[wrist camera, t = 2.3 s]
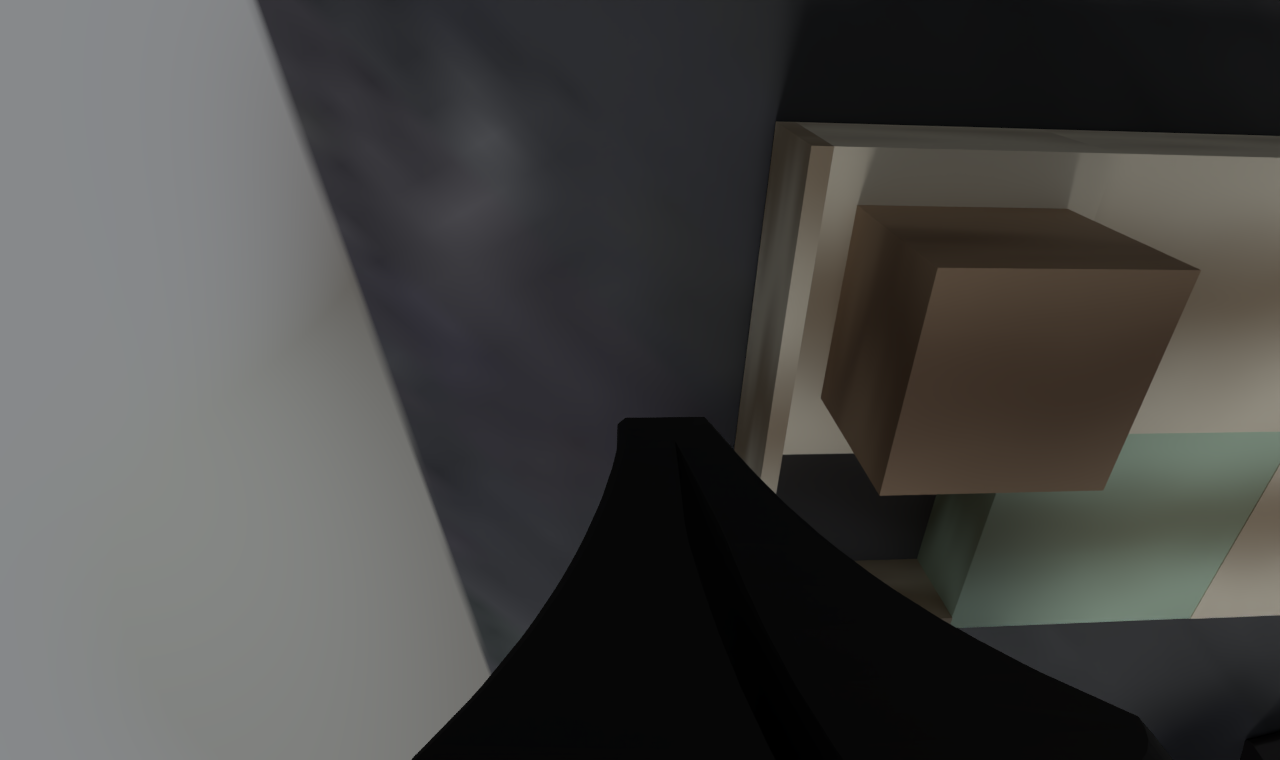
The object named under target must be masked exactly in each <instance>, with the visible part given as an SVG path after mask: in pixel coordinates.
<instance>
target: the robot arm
mask: <svg viewBox="0 0 1280 760" xmlns="http://www.w3.org/2000/svg"><path fill="white" fill-rule="evenodd" d="M412 760H1173V759H1172V758H1171V757H1170V756H1169V754H1168V753H1167V752H1166V750H1165V749H1164V748H1163V747H1162V745H1161V744H1160V743H1159V742H1158V740H1157V739H1156V738H1155V736H1154V735H1153V734H1152V733H1151V731H1150V730H1149V729H1148V728H1147V727H1146V726H1145V724H1144V723H1143V722H1142V721H1141V720H1140V718H1139V717H1138V716H1136V715H1133V714H1131V713H1129V712H1127V711H1125V710H1122V709H1120V708H1118V707H1116V706H1114V705H1111V704H1109V703H1107V702H1105V701H1103V700H1100V699H1098V698H1096V697H1094V696H1092V695H1089V694H1087V693H1085V692H1083V691H1081V690H1078V689H1076V688H1074V687H1072V686H1069V685H1067V684H1065V683H1063V682H1061V681H1058V680H1056V679H1054V678H1052V677H1050V676H1047V675H1045V674H1043V673H1041V672H1039V671H1037V670H1035V669H1033V668H1031V667H1029V666H1027V665H1025V664H1023V663H1021V662H1019V661H1017V660H1015V659H1013V658H1011V657H1009V656H1008V655H1006V654H1004V653H1002V652H1000V651H998V650H996V649H994V648H992V647H990V646H989V645H987V644H985V643H983V642H981V641H979V640H977V639H975V638H974V637H972V636H970V635H968V634H967V633H965V632H963V631H961V630H959V629H958V628H956V627H954V626H952V625H951V624H949V623H947V622H945V621H944V620H942V619H940V618H939V617H937V616H936V615H934V614H932V613H931V612H929V611H928V610H926V609H924V608H923V607H921V606H920V605H918V604H916V603H915V602H913V601H912V600H910V599H908V598H907V597H905V596H904V595H902V594H901V593H899V592H897V591H896V590H894V589H893V588H891V587H890V586H889V585H887V584H886V583H884V582H883V581H881V580H880V579H878V578H877V577H875V576H874V575H873V574H871V573H870V572H868V571H867V570H866V569H864V568H863V567H862V566H860V565H859V564H858V563H856V562H855V561H854V560H852V559H851V558H850V557H848V556H847V555H846V554H844V553H843V552H842V551H840V550H839V549H838V548H836V547H835V546H834V545H833V544H831V543H830V542H829V541H828V540H826V539H825V538H824V537H823V536H822V535H820V534H819V533H818V532H817V531H816V530H815V529H813V528H812V527H811V526H810V525H809V524H808V523H807V522H806V521H804V520H803V519H802V518H801V517H800V516H799V515H798V514H796V513H795V512H794V511H793V510H792V509H791V508H790V507H789V506H788V505H787V504H785V503H784V502H783V501H782V500H781V499H780V498H779V497H778V496H777V495H776V494H775V493H774V492H773V491H772V490H771V489H770V488H769V487H768V486H767V485H766V484H765V483H764V482H763V481H762V480H761V479H760V478H759V477H758V475H757V474H756V473H755V472H754V471H753V470H752V469H751V468H750V467H749V466H748V465H747V464H746V463H745V462H744V460H743V459H742V458H741V457H740V456H739V455H738V454H737V453H736V452H735V451H734V449H733V448H732V447H731V446H730V445H729V444H728V443H727V442H726V440H725V439H724V438H723V437H722V436H721V435H720V434H719V433H718V431H717V430H716V429H715V428H714V427H713V426H712V425H711V424H710V423H709V422H708V421H707V419H706V418H705V417H663V418H625V419H624V420H622V421H621V422H620V423H619V424H618V429H617V451H616V455H615V459H614V463H613V467H612V470H611V473H610V476H609V479H608V482H607V485H606V488H605V491H604V494H603V497H602V499H601V502H600V504H599V506H598V509H597V511H596V513H595V515H594V517H593V520H592V522H591V524H590V526H589V528H588V531H587V533H586V535H585V537H584V539H583V541H582V543H581V545H580V547H579V549H578V551H577V553H576V555H575V556H574V558H573V560H572V562H571V564H570V565H569V567H568V569H567V570H566V572H565V574H564V575H563V577H562V579H561V581H560V582H559V584H558V585H557V587H556V589H555V590H554V592H553V593H552V595H551V596H550V598H549V599H548V601H547V602H546V604H545V605H544V607H543V608H542V610H541V611H540V613H539V614H538V616H537V617H536V618H535V620H534V621H533V623H532V624H531V625H530V627H529V628H528V630H527V631H526V632H525V634H524V635H523V636H522V638H521V639H520V640H519V641H518V643H517V644H516V645H515V646H514V647H513V649H512V650H511V651H510V652H509V654H508V655H507V656H506V657H505V658H504V660H503V661H502V662H501V663H500V665H499V666H498V667H497V668H496V669H495V671H494V672H493V673H492V674H491V676H490V677H489V678H488V679H487V680H486V682H485V683H484V684H483V685H482V687H481V688H480V689H479V690H478V691H477V692H476V693H475V694H474V695H473V696H472V698H471V699H470V700H469V701H468V702H467V703H466V704H465V705H464V706H463V707H462V708H461V709H460V710H459V711H458V712H457V713H456V714H455V715H454V717H452V718H451V719H450V721H448V723H447V724H446V725H445V726H444V727H443V728H442V729H441V730H440V731H439V732H438V733H437V734H436V735H435V736H434V737H433V738H432V739H431V740H430V741H429V742H428V743H427V744H426V745H425V746H424V747H423V748H422V749H421V750H420V751H419V752H418V754H416V755H415V756H414V758H412Z"/></svg>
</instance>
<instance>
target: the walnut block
mask: <svg viewBox="0 0 1280 760" xmlns="http://www.w3.org/2000/svg"><path fill="white" fill-rule="evenodd" d="M1200 272H1201V270H1200V269H1198V268H1196V267H1193V266H1191V265H1189V264H1187V263H1185V262H1182V261H1180V260H1178V259H1176V258H1174V257H1172V256H1169V255H1167V254H1165V253H1163V252H1161V251H1158V250H1156V249H1154V248H1152V247H1150V246H1148V245H1145V244H1143V243H1141V242H1139V241H1137V240H1135V239H1132V238H1130V237H1128V236H1126V235H1124V234H1121V233H1119V232H1117V231H1115V230H1113V229H1111V228H1108V227H1106V226H1104V225H1102V224H1100V223H1097V222H1095V221H1093V220H1091V219H1089V218H1087V217H1084V216H1082V215H1080V214H1078V213H1076V212H1074V211H1071V210H1069V209H1057V208H1000V207H943V206H886V205H857V209H856V214H855V219H854V225H853V230H852V235H851V240H850V246H849V251H848V256H847V261H846V267H845V272H844V277H843V283H842V288H841V293H840V298H839V304H838V309H837V314H836V319H835V325H834V330H833V335H832V340H831V346H830V351H829V356H828V362H827V367H826V372H825V377H824V383H823V388H822V393H821V400H822V401H823V403H824V405H825V406H826V408H827V410H828V411H829V413H830V415H831V416H832V418H833V420H834V421H835V423H836V424H837V426H838V428H839V429H840V431H841V433H842V434H843V436H844V438H845V439H846V441H847V443H848V444H849V446H850V448H851V449H852V451H853V453H854V454H855V456H856V458H857V459H858V461H859V463H860V464H861V466H862V468H863V469H864V471H865V473H866V474H867V476H868V478H869V479H870V481H871V482H872V484H873V486H874V487H875V489H876V491H877V492H878V494H879V496H888V495H931V494H975V493H1018V492H1061V491H1103V490H1104V488H1105V486H1106V483H1107V481H1108V479H1109V477H1110V474H1111V472H1112V470H1113V468H1114V465H1115V463H1116V461H1117V459H1118V456H1119V454H1120V452H1121V450H1122V447H1123V445H1124V443H1125V441H1126V438H1127V436H1128V434H1129V432H1130V429H1131V427H1132V425H1133V423H1134V420H1135V418H1136V416H1137V414H1138V411H1139V409H1140V407H1141V405H1142V402H1143V400H1144V398H1145V396H1146V393H1147V391H1148V389H1149V387H1150V384H1151V382H1152V380H1153V378H1154V375H1155V373H1156V371H1157V369H1158V366H1159V364H1160V362H1161V360H1162V357H1163V355H1164V353H1165V351H1166V348H1167V346H1168V344H1169V342H1170V339H1171V337H1172V335H1173V333H1174V330H1175V328H1176V326H1177V324H1178V321H1179V319H1180V317H1181V315H1182V312H1183V310H1184V308H1185V306H1186V303H1187V301H1188V299H1189V297H1190V294H1191V292H1192V290H1193V288H1194V285H1195V283H1196V281H1197V279H1198V276H1199V274H1200Z"/></svg>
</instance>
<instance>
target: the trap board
mask: <svg viewBox="0 0 1280 760" xmlns="http://www.w3.org/2000/svg"><path fill="white" fill-rule="evenodd" d="M857 205H886V206H943V207H1000V208H1057V209H1069V210H1071V211H1074V212H1076V213H1078V214H1080V215H1082V216H1084V217H1087V218H1089V219H1091V220H1093V221H1095V222H1097V223H1100V224H1102V225H1104V226H1106V227H1108V228H1111V229H1113V230H1115V231H1117V232H1119V233H1121V234H1124V235H1126V236H1128V237H1130V238H1132V239H1135V240H1137V241H1139V242H1141V243H1143V244H1145V245H1148V246H1150V247H1152V248H1154V249H1156V250H1158V251H1161V252H1163V253H1165V254H1167V255H1169V256H1172V257H1174V258H1176V259H1178V260H1180V261H1182V262H1185V263H1187V264H1189V265H1191V266H1193V267H1196V268H1198V269H1200V270H1201V272H1200V274H1199V276H1198V279H1197V281H1196V283H1195V285H1194V288H1193V290H1192V292H1191V294H1190V297H1189V299H1188V301H1187V303H1186V306H1185V308H1184V310H1183V312H1182V315H1181V317H1180V319H1179V321H1178V324H1177V326H1176V328H1175V330H1174V333H1173V335H1172V337H1171V339H1170V342H1169V344H1168V346H1167V348H1166V351H1165V353H1164V355H1163V357H1162V360H1161V362H1160V364H1159V366H1158V369H1157V371H1156V373H1155V375H1154V378H1153V380H1152V382H1151V384H1150V387H1149V389H1148V391H1147V393H1146V396H1145V398H1144V400H1143V402H1142V405H1141V407H1140V409H1139V411H1138V414H1137V416H1136V418H1135V420H1134V423H1133V425H1132V427H1131V429H1130V432H1129V434H1128V436H1127V438H1126V441H1125V443H1124V445H1123V447H1122V450H1121V452H1120V454H1119V456H1118V459H1117V461H1116V463H1115V465H1114V468H1113V470H1112V472H1111V474H1110V477H1109V479H1108V481H1107V483H1106V486H1105V488H1104V490H1103V491H1061V492H1018V493H975V494H931V495H888V496H879V494H878V492H877V491H876V489H875V487H874V486H873V484H872V482H871V481H870V479H869V478H868V476H867V474H866V473H865V471H864V469H863V468H862V466H861V464H860V463H859V461H858V459H857V458H856V456H855V454H854V453H853V451H852V449H851V448H850V446H849V444H848V443H847V441H846V439H845V438H844V436H843V434H842V433H841V431H840V429H839V428H838V426H837V424H836V423H835V421H834V420H833V418H832V416H831V415H830V413H829V411H828V410H827V408H826V406H825V405H824V403H823V401H822V400H821V393H822V388H823V383H824V377H825V372H826V367H827V362H828V356H829V351H830V346H831V340H832V335H833V330H834V325H835V319H836V314H837V309H838V304H839V298H840V293H841V288H842V283H843V277H844V272H845V267H846V261H847V256H848V251H849V246H850V240H851V235H852V230H853V225H854V219H855V214H856V209H857ZM734 451H735V452H736V453H737V454H738V455H739V456H740V457H741V458H742V459H743V460H744V462H745V463H746V464H747V465H748V466H749V467H750V468H751V469H752V470H753V471H754V472H755V473H756V474H757V475H758V477H759V478H760V479H761V480H762V481H763V482H764V483H765V484H766V485H767V486H768V487H769V488H770V489H771V490H772V491H773V492H774V493H775V494H776V495H777V496H778V497H779V498H780V499H781V500H782V501H783V502H784V503H785V504H787V505H788V506H789V507H790V508H791V509H792V510H793V511H794V512H795V513H796V514H798V515H799V516H800V517H801V518H802V519H803V520H804V521H806V522H807V523H808V524H809V525H810V526H811V527H812V528H813V529H815V530H816V531H817V532H818V533H819V534H820V535H822V536H823V537H824V538H825V539H826V540H828V541H829V542H830V543H831V544H833V545H834V546H835V547H836V548H838V549H839V550H840V551H842V552H843V553H844V554H846V555H847V556H848V557H850V558H851V559H852V560H854V561H855V562H856V563H858V564H859V565H860V566H862V567H863V568H864V569H866V570H867V571H868V572H870V573H871V574H873V575H874V576H875V577H877V578H878V579H880V580H881V581H883V582H884V583H886V584H887V585H889V586H890V587H891V588H893V589H894V590H896V591H897V592H899V593H901V594H902V595H904V596H905V597H907V598H908V599H910V600H912V601H913V602H915V603H916V604H918V605H920V606H921V607H923V608H924V609H926V610H928V611H929V612H931V613H932V614H934V615H936V616H937V617H939V618H940V619H942V620H944V621H945V622H947V623H949V624H951V625H952V626H954V627H956V628H968V627H992V626H1016V625H1039V624H1063V623H1087V622H1110V621H1134V620H1158V619H1182V618H1190V619H1199V618H1223V617H1246V616H1270V615H1280V136H1263V135H1228V134H1194V133H1159V132H1124V131H1090V130H1055V129H1021V128H986V127H951V126H917V125H882V124H847V123H813V122H778V121H776V125H775V133H774V141H773V149H772V156H771V164H770V172H769V180H768V188H767V196H766V204H765V212H764V219H763V227H762V235H761V243H760V251H759V259H758V267H757V275H756V282H755V290H754V298H753V306H752V314H751V322H750V330H749V337H748V345H747V353H746V361H745V369H744V377H743V385H742V393H741V400H740V408H739V416H738V424H737V432H736V440H735V448H734Z"/></svg>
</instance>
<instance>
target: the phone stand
mask: <svg viewBox="0 0 1280 760" xmlns="http://www.w3.org/2000/svg"><path fill="white" fill-rule="evenodd" d="M1240 760H1280V732H1279V733H1274V734H1270V735H1266V736H1262V737H1258V738H1254V739H1250V740H1246V741H1245V743H1244V747H1243V751H1242V754H1241V758H1240Z"/></svg>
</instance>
